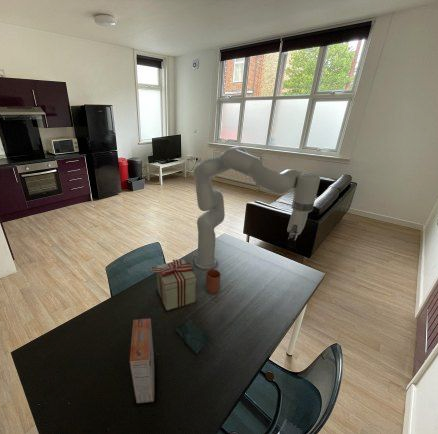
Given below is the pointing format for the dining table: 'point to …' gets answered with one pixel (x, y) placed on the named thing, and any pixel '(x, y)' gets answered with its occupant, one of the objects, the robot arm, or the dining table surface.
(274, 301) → the dining table surface
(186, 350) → the dining table surface
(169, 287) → the gift box
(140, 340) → the cracker box
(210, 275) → the cup
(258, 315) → the dining table surface
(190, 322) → the terrain model
